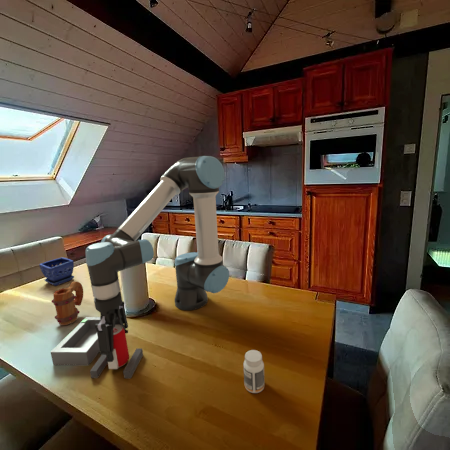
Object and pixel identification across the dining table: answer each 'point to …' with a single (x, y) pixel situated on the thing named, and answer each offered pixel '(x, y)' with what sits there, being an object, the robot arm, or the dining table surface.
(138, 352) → the gray parallel rails
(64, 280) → the flower pot
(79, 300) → the mug
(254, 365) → the pill bottle
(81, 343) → the tray
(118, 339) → the beverage can
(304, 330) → the dining table surface
